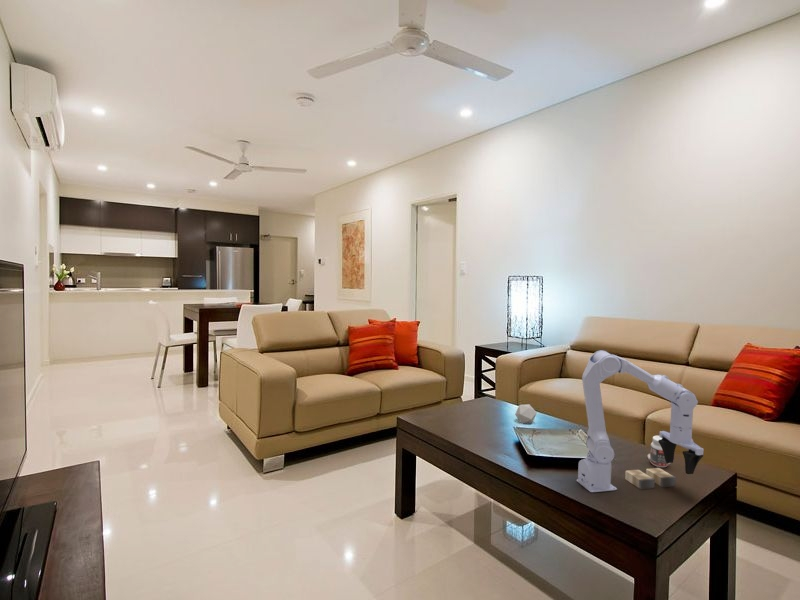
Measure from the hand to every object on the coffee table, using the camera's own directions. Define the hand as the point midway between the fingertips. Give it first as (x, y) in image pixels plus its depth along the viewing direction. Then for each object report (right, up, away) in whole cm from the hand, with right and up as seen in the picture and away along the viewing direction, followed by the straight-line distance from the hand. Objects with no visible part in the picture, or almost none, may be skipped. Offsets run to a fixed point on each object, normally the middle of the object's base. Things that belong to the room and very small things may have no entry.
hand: (679, 467), depth 131 cm
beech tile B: (-1, -6, +4) cm, 8 cm away
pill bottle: (+6, -7, +20) cm, 22 cm away
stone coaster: (+9, -7, +25) cm, 27 cm away
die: (-29, -5, +64) cm, 71 cm away
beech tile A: (-8, -6, +3) cm, 11 cm away
